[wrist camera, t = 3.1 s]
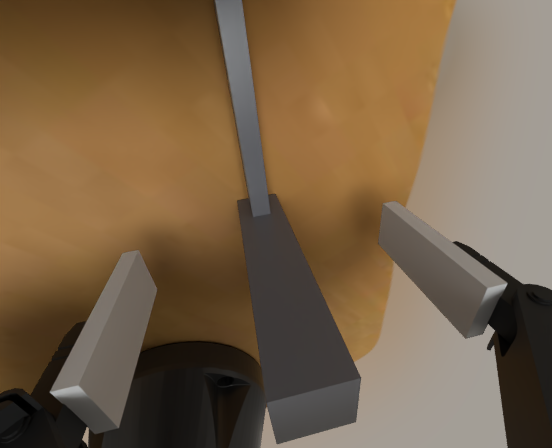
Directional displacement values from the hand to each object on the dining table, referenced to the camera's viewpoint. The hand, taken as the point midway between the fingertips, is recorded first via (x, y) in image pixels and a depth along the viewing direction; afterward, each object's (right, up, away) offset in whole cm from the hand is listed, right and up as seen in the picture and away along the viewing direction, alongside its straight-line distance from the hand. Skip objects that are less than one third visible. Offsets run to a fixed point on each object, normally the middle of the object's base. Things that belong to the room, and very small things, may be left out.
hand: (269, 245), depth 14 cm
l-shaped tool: (-2, +9, -1) cm, 9 cm away
